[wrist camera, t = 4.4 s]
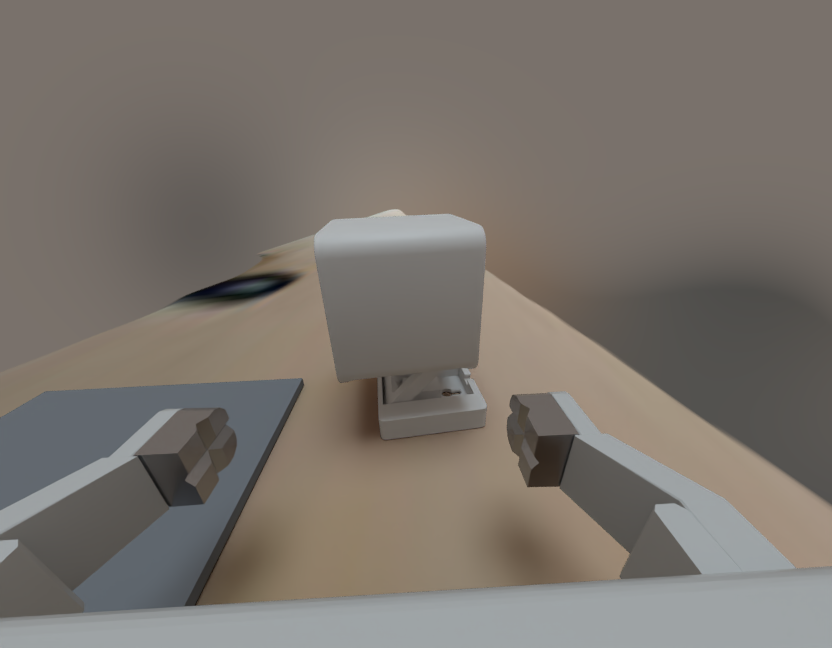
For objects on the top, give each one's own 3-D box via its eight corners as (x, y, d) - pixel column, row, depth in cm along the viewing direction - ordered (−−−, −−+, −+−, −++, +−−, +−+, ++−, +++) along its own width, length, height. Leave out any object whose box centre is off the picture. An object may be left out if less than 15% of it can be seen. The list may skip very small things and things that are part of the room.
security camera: (355, 375, 20) (332, 218, 15) (457, 364, 20) (462, 211, 16) (349, 452, 14) (308, 237, 10) (490, 433, 15) (511, 226, 10)
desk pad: (-20, 1038, 4) (-44, 1043, 4) (-1185, 1146, 4) (-1277, 1159, 4) (304, 384, 19) (302, 378, 19) (50, 397, 19) (45, 391, 18)
